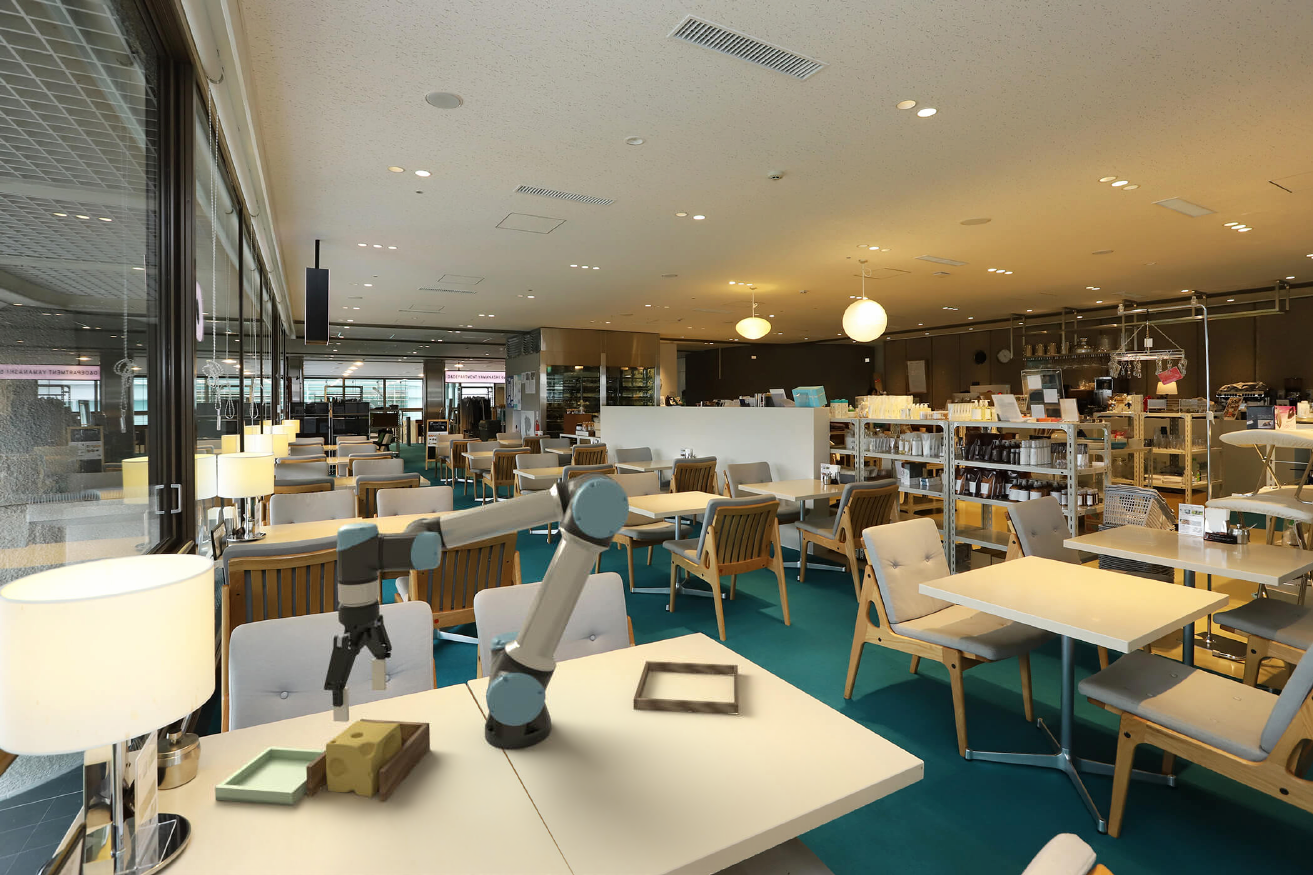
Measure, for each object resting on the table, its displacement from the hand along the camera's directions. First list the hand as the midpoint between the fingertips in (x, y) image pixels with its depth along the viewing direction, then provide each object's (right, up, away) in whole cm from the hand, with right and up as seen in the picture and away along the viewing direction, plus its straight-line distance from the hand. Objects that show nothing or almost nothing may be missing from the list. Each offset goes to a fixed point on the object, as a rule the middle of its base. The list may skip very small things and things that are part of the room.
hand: (361, 704), depth 132 cm
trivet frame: (+68, -13, +41) cm, 81 cm away
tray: (-17, -16, +1) cm, 23 cm away
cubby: (+1, -16, +4) cm, 16 cm away
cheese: (0, -16, +1) cm, 16 cm away
